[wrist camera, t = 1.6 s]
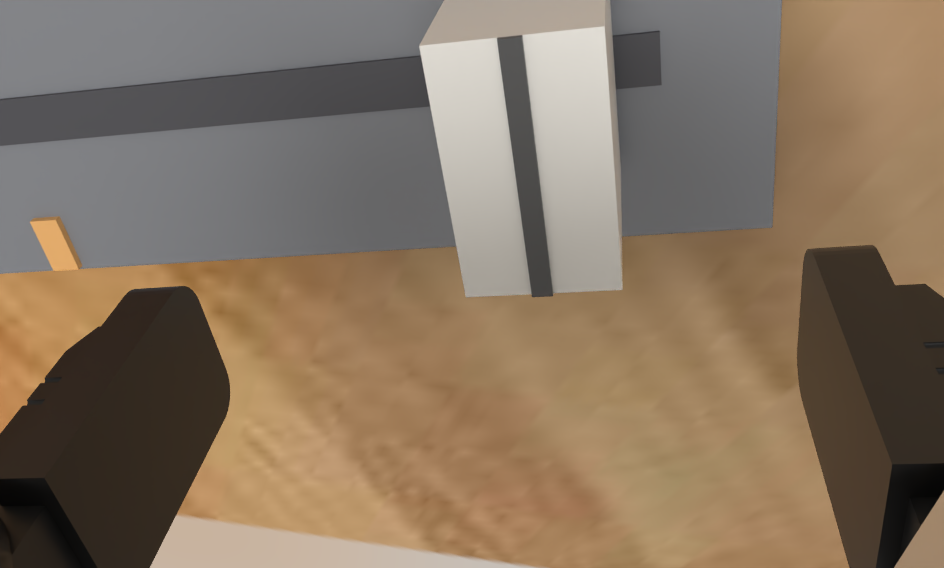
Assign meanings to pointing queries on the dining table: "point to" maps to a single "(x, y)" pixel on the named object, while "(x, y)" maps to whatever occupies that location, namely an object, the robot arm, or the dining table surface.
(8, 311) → the dining table surface
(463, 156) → the block
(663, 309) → the dining table surface
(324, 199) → the slider board
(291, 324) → the dining table surface
